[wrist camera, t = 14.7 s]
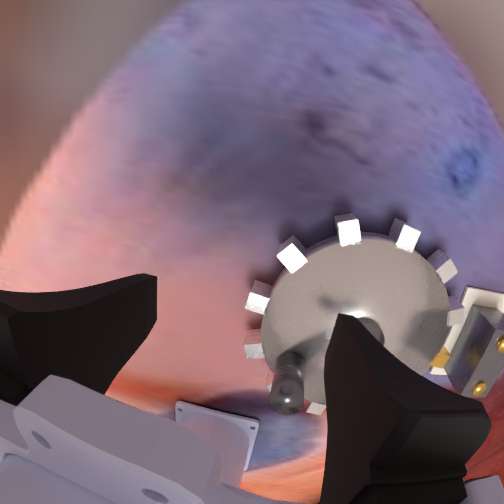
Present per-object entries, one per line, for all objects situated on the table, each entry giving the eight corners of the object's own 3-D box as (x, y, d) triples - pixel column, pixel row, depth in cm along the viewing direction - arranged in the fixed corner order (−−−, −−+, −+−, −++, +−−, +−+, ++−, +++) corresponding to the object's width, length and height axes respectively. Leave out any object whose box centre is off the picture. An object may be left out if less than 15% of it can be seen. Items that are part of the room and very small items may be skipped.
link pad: (471, 373, 21) (472, 375, 21) (428, 371, 21) (429, 373, 21) (508, 294, 18) (510, 295, 18) (466, 285, 19) (467, 287, 19)
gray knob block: (468, 368, 20) (486, 399, 16) (443, 367, 21) (459, 400, 17) (497, 308, 19) (523, 334, 14) (472, 303, 19) (497, 331, 15)
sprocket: (463, 355, 20) (491, 401, 14) (299, 418, 24) (294, 472, 18) (418, 177, 17) (462, 187, 11) (210, 272, 21) (178, 313, 16)
